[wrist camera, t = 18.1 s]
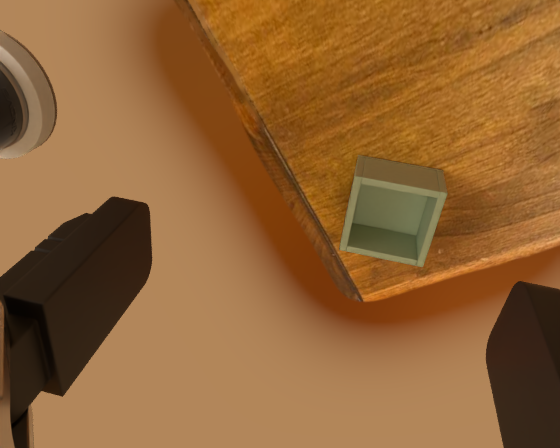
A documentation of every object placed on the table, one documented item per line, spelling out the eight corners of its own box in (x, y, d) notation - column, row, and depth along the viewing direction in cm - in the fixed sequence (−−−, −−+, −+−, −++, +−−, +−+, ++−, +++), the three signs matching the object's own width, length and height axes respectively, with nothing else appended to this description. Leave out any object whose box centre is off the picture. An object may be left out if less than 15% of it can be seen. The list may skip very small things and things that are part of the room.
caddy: (343, 224, 45) (338, 250, 41) (358, 154, 41) (354, 175, 37) (420, 240, 44) (422, 267, 40) (443, 170, 40) (447, 193, 36)
